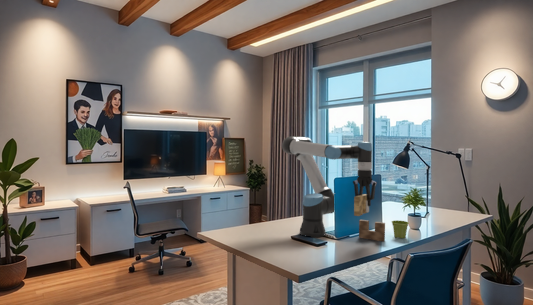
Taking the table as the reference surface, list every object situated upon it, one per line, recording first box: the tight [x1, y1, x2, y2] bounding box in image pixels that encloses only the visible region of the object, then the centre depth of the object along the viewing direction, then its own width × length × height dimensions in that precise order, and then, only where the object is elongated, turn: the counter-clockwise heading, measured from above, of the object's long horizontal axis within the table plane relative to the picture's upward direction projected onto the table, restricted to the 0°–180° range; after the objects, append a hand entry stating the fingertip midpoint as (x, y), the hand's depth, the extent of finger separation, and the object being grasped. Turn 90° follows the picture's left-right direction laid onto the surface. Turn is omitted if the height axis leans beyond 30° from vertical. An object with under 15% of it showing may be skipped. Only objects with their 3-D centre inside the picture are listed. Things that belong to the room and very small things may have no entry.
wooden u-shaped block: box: [358, 219, 386, 242], centre depth 200 cm, size 14×2×10 cm, turn 56°
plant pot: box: [391, 220, 410, 239], centre depth 205 cm, size 9×9×9 cm
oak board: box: [353, 193, 369, 217], centre depth 195 cm, size 14×3×10 cm, turn 144°
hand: (364, 211), depth 199 cm, fingers closed on oak board, 3 cm apart
